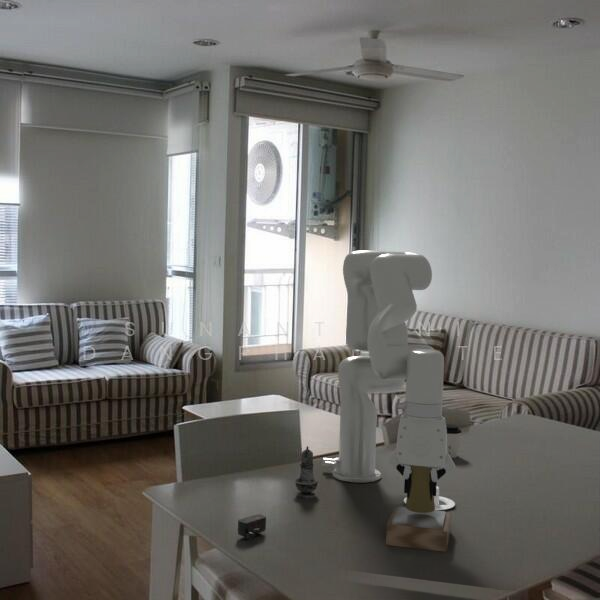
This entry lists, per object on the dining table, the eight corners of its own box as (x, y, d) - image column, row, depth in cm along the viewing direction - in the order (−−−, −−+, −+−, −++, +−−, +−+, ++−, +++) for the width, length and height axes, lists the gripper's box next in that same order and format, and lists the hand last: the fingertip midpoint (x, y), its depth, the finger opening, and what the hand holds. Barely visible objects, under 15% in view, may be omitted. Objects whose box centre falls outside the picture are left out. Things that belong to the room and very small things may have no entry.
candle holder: (418, 515, 180) (419, 496, 180) (394, 499, 191) (395, 482, 191) (464, 510, 184) (465, 492, 184) (438, 495, 195) (439, 478, 195)
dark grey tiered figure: (322, 494, 193) (323, 445, 192) (312, 500, 187) (313, 450, 187) (300, 490, 195) (301, 442, 194) (289, 496, 190) (291, 447, 189)
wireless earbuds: (233, 536, 163) (234, 521, 162) (258, 528, 168) (258, 513, 167) (248, 541, 160) (248, 526, 159) (272, 533, 164) (273, 519, 164)
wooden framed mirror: (385, 544, 159) (386, 522, 159) (393, 525, 171) (394, 504, 171) (446, 551, 157) (447, 528, 156) (449, 531, 168) (450, 510, 168)
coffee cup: (464, 459, 230) (465, 425, 230) (455, 464, 224) (456, 429, 224) (441, 455, 234) (442, 422, 234) (432, 460, 228) (433, 426, 228)
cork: (416, 514, 160) (418, 460, 159) (399, 505, 165) (401, 453, 164) (440, 510, 162) (443, 457, 162) (423, 502, 168) (425, 450, 167)
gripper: (380, 410, 161) (377, 499, 162) (464, 416, 157) (460, 507, 158) (385, 403, 168) (382, 488, 169) (465, 409, 164) (461, 496, 165)
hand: (420, 497), depth 164 cm, fingers closed on cork, 3 cm apart
